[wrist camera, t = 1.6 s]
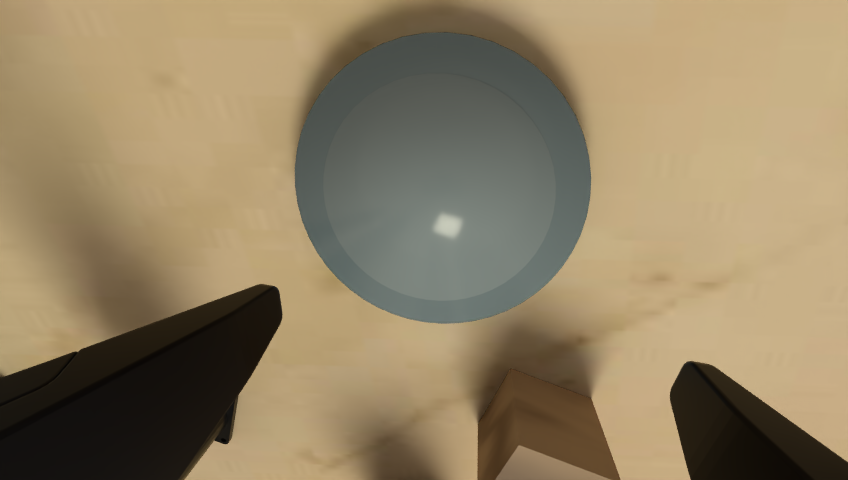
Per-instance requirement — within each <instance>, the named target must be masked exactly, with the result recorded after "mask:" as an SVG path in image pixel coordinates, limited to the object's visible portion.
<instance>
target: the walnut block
mask: <svg viewBox="0 0 848 480" xmlns="http://www.w3.org/2000/svg"><path fill="white" fill-rule="evenodd" d="M478 480H620V477H619V474H618V471H617V469H616V466H615V463H614V460H613V457H612V455H611V452H610V449H609V446H608V444H607V441H606V438H605V435H604V432H603V430H602V427H601V424H600V421H599V419H598V416H597V413H596V410H595V408H594V405H593V402H592V399H591V398H588V397H585V396H583V395H580V394H577V393H575V392H572V391H569V390H567V389H564V388H561V387H559V386H556V385H553V384H551V383H548V382H545V381H543V380H540V379H537V378H535V377H532V376H529V375H527V374H524V373H521V372H518V371H516V370H513V369H510V371H509V372H508V374H507V376H506V377H505V379H504V381H503V382H502V384H501V386H500V388H499V389H498V391H497V393H496V394H495V396H494V398H493V399H492V401H491V403H490V405H489V406H488V408H487V410H486V411H485V413H484V415H483V417H482V418H481V420H480V422H479V423H478Z"/></svg>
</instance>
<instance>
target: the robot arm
mask: <svg viewBox="0 0 848 480" xmlns="http://www.w3.org/2000/svg"><path fill="white" fill-rule="evenodd" d="M281 321H282V307H281V300H280V293H279V290H278V288H277V287H275V286H271V285H265V284H259V285H256V286H253V287H250V288H248V289H245V290H242V291H239V292H237V293H234V294H231V295H228V296H226V297H223V298H220V299H217V300H215V301H212V302H209V303H206V304H204V305H201V306H198V307H196V308H193V309H190V310H187V311H185V312H182V313H179V314H176V315H174V316H171V317H168V318H165V319H163V320H160V321H157V322H154V323H152V324H149V325H146V326H143V327H141V328H138V329H135V330H133V331H130V332H127V333H124V334H122V335H119V336H116V337H113V338H111V339H108V340H105V341H102V342H100V343H97V344H94V345H91V346H89V347H86V348H83V349H81V350H80V351H79V352H72V353H69V354H67V355H64V356H61V357H58V358H56V359H53V360H50V361H47V362H45V363H42V364H39V365H36V366H33V367H30V368H28V369H25V370H22V371H19V372H16V373H13V374H11V375H7V376H4V377H1V378H0V480H184V479H185V478H186V477H187V475H188V474H189V473H190V472H191V470H192V469H193V468H194V466H195V465H196V464H197V462H198V461H199V460H200V458H201V457H202V456H203V454H204V453H205V452H206V451H207V449H208V448H209V447H210V445H211V444H212V443H213V441H217V442H220V443H222V444H228V443H229V441H230V440H231V438H232V432H233V426H234V420H235V413H236V407H237V401H238V395H239V393H240V392H241V390H242V389H243V387H244V386H245V384H246V383H247V381H248V380H249V378H250V377H251V375H252V373H253V372H254V370H255V368H256V366H257V365H258V363H259V361H260V359H261V358H262V356H263V354H264V352H265V350H266V349H267V347H268V345H269V343H270V341H271V340H272V338H273V336H274V334H275V333H276V331H277V329H278V327H279V325H280V323H281ZM670 401H671V406H672V410H673V413H674V417H675V421H676V425H677V429H678V433H679V437H680V441H681V445H682V449H683V453H684V457H685V461H686V465H687V468H688V472H689V475H690V479H691V480H848V462H847V461H845V460H844V459H843V458H841V457H840V456H838V455H837V454H836V453H834V452H833V451H831V450H830V449H829V448H827V447H826V446H824V445H823V444H822V443H820V442H819V441H817V440H816V439H815V438H813V437H812V436H810V435H809V434H808V433H806V432H805V431H804V430H802V429H801V428H799V427H798V426H797V425H795V424H794V423H792V422H791V421H790V420H788V419H787V418H785V417H784V416H783V415H781V414H780V413H778V412H777V411H776V410H774V409H773V408H771V407H770V406H769V405H767V404H766V403H764V402H763V401H762V400H760V399H759V398H758V397H756V396H755V395H753V394H752V393H751V392H749V391H748V390H746V389H745V388H744V387H742V386H741V385H739V384H738V383H737V382H735V381H734V380H732V379H731V378H730V377H728V376H727V375H725V374H724V373H723V372H721V371H720V370H719V369H717V368H716V367H714V366H712V365H710V364H705V363H700V362H694V361H688V362H686V363H685V364H684V365H683V367H682V369H681V371H680V372H679V374H678V376H677V378H676V380H675V382H674V384H673V386H672V388H671V391H670Z"/></svg>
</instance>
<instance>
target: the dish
mask: <svg viewBox="0 0 848 480" xmlns="http://www.w3.org/2000/svg"><path fill="white" fill-rule="evenodd" d="M295 188H296V195H297V202H298V207H299V210H300V214H301V218H302V221H303V224H304V226H305V229H306V231H307V234H308V236H309V238H310V240H311V242H312V244H313V246H314V247H315V249H316V251H317V253H318V254H319V256H320V257H321V258H322V260H323V261H324V263H325V264H326V266H327V267H328V268H329V269H330V270H331V271H332V272H333V273H334V275H335V276H336V277H337V278H338V279H339V280H340V281H341V282H342V283H344V284H345V285H346V286H347V287H348V288H349V289H350V290H352V291H353V292H354V293H356V294H357V295H358V296H360V297H361V298H363V299H364V300H366V301H368V302H369V303H371V304H373V305H375V306H376V307H378V308H380V309H383V310H385V311H387V312H390V313H392V314H395V315H398V316H401V317H404V318H407V319H412V320H417V321H422V322H430V323H441V324H442V323H462V322H470V321H476V320H480V319H484V318H488V317H491V316H494V315H497V314H499V313H502V312H505V311H507V310H509V309H511V308H513V307H515V306H517V305H519V304H521V303H522V302H524V301H525V300H527V299H528V298H530V297H531V296H533V295H534V294H535V293H537V292H538V291H539V290H540V289H541V288H543V287H544V286H545V285H546V284H547V283H548V282H549V281H550V280H551V279H552V278H553V277H554V276H555V275H556V273H557V272H558V271H559V270H560V269H561V268H562V266H563V265H564V263H565V262H566V260H567V259H568V257H569V256H570V254H571V253H572V251H573V249H574V247H575V245H576V243H577V241H578V239H579V237H580V235H581V232H582V229H583V226H584V223H585V220H586V217H587V212H588V206H589V201H590V190H591V171H590V162H589V154H588V150H587V146H586V142H585V138H584V135H583V133H582V130H581V128H580V125H579V123H578V120H577V118H576V116H575V114H574V112H573V111H572V109H571V107H570V106H569V104H568V102H567V101H566V99H565V97H564V96H563V95H562V93H561V92H560V91H559V90H558V89H557V87H556V86H555V85H554V84H553V83H552V81H551V80H550V79H549V78H548V77H547V76H546V75H545V74H543V73H542V72H541V71H540V70H539V69H538V68H537V67H536V66H534V65H533V64H532V63H531V62H529V61H528V60H526V59H524V58H523V57H521V56H520V55H518V54H517V53H515V52H514V51H512V50H510V49H507V48H505V47H503V46H501V45H499V44H496V43H494V42H492V41H488V40H485V39H481V38H478V37H474V36H471V35H464V34H456V33H448V32H444V33H422V34H416V35H410V36H405V37H401V38H398V39H395V40H392V41H389V42H386V43H383V44H381V45H379V46H377V47H375V48H373V49H371V50H369V51H367V52H365V53H363V54H362V55H360V56H359V57H357V58H356V59H355V60H353V61H352V62H350V63H349V64H348V65H346V66H345V67H344V68H343V69H342V70H341V71H340V72H339V73H338V74H337V75H336V76H335V77H334V78H333V79H332V80H331V81H330V82H329V83H328V85H327V86H326V87H325V88H324V90H323V91H322V92H321V94H320V95H319V96H318V98H317V100H316V101H315V103H314V105H313V107H312V108H311V110H310V112H309V114H308V116H307V119H306V121H305V124H304V126H303V129H302V132H301V136H300V140H299V143H298V147H297V154H296V163H295Z"/></svg>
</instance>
